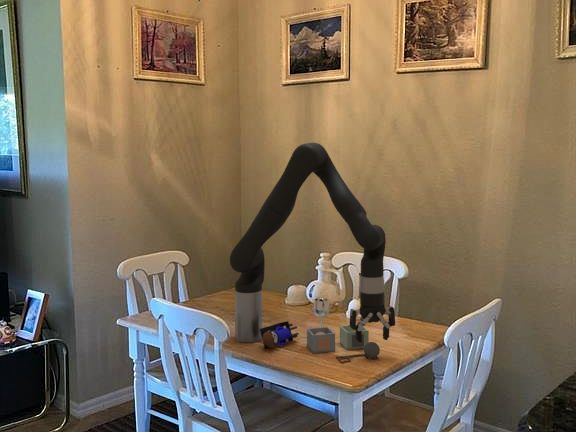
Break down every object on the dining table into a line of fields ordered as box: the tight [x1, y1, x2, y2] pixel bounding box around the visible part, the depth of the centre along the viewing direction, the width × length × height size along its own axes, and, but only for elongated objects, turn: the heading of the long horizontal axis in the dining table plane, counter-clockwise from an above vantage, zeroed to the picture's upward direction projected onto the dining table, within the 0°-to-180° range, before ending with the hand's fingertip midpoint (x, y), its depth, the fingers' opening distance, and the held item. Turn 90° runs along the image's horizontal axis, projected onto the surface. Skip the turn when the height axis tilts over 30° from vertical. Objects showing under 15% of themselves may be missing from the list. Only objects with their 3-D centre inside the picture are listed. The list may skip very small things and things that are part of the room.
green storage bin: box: [339, 324, 370, 351], centre depth 201 cm, size 8×8×6 cm
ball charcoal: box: [363, 341, 381, 358], centre depth 189 cm, size 5×5×5 cm
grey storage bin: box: [306, 326, 336, 354], centre depth 198 cm, size 8×8×6 cm
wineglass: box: [312, 297, 330, 327], centre depth 215 cm, size 6×6×12 cm
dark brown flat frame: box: [335, 353, 380, 364], centre depth 189 cm, size 13×4×1 cm, turn 103°
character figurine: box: [260, 320, 300, 350], centre depth 202 cm, size 8×7×15 cm
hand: (372, 340), depth 189 cm, fingers open, 8 cm apart
